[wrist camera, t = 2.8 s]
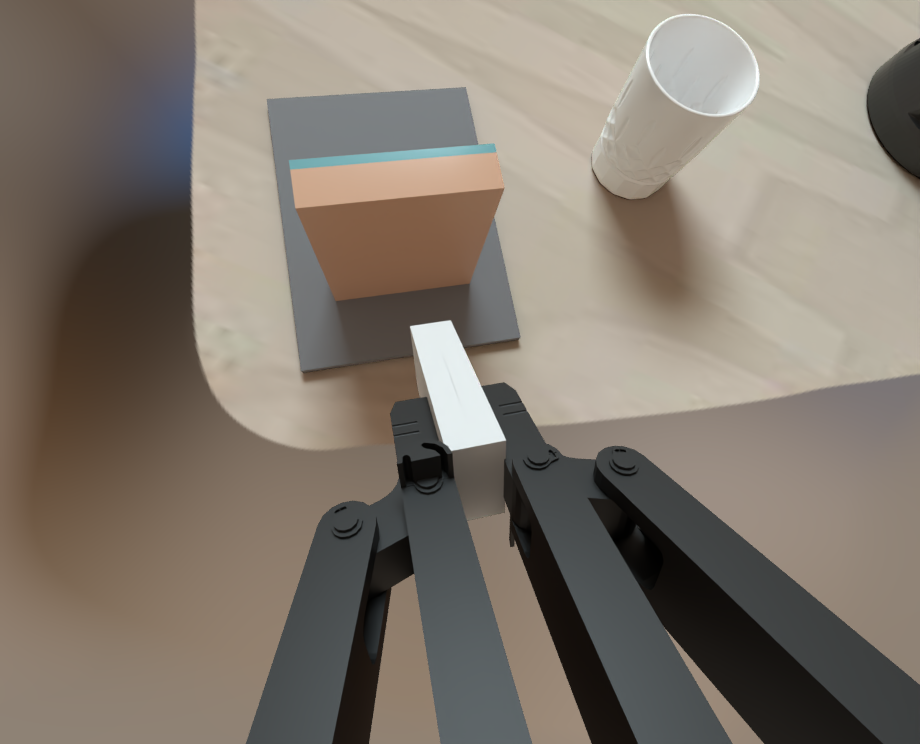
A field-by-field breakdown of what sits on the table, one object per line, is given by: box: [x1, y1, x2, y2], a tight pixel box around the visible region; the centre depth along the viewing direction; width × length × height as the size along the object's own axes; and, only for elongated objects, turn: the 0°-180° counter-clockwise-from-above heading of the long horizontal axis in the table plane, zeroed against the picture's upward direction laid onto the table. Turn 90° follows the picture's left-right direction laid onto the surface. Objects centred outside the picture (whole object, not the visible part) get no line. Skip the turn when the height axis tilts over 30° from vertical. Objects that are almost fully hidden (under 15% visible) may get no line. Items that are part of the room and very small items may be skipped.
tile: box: [289, 144, 504, 301], centre depth 27 cm, size 2×10×12 cm, turn 101°
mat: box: [267, 87, 520, 373], centre depth 34 cm, size 22×16×1 cm
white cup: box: [592, 14, 760, 199], centre depth 33 cm, size 8×8×10 cm
